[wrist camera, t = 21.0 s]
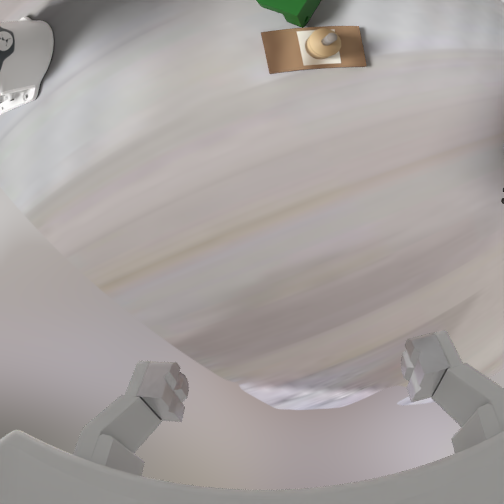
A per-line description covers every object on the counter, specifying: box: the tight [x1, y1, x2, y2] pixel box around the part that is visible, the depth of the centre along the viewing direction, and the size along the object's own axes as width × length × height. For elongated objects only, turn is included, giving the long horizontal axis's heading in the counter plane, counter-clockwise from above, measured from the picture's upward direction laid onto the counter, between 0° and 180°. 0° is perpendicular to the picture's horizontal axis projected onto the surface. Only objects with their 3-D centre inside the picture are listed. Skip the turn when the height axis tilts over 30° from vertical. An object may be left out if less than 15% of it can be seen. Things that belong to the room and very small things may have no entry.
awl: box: [305, 28, 341, 59], centre depth 25 cm, size 4×4×9 cm
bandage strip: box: [261, 26, 366, 74], centre depth 30 cm, size 13×6×1 cm, turn 101°
